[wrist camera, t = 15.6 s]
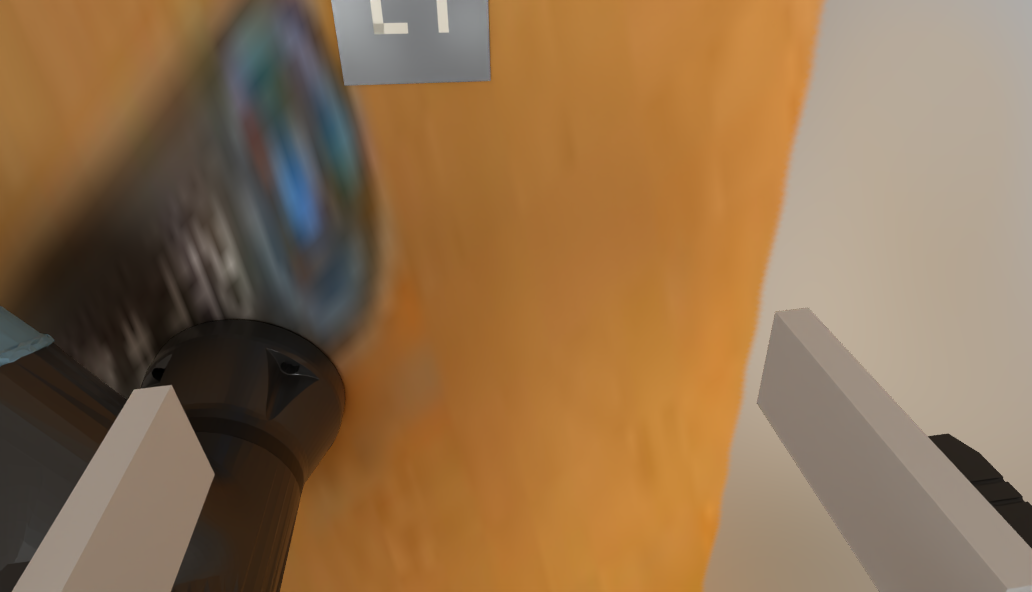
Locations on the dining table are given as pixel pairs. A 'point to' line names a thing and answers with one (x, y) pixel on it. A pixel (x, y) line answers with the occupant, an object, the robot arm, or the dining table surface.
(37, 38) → the dining table surface
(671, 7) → the dining table surface
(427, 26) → the tile
